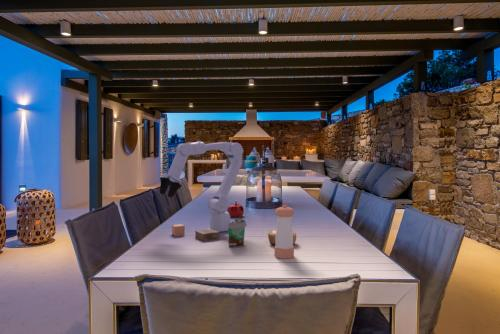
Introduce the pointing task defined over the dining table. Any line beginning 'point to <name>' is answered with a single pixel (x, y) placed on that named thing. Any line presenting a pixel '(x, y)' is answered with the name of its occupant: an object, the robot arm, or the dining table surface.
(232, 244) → the food container
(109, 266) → the dining table surface
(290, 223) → the pepper shaker
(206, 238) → the walnut block
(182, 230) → the terracotta cube
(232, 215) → the pomegranate
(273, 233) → the pastry
